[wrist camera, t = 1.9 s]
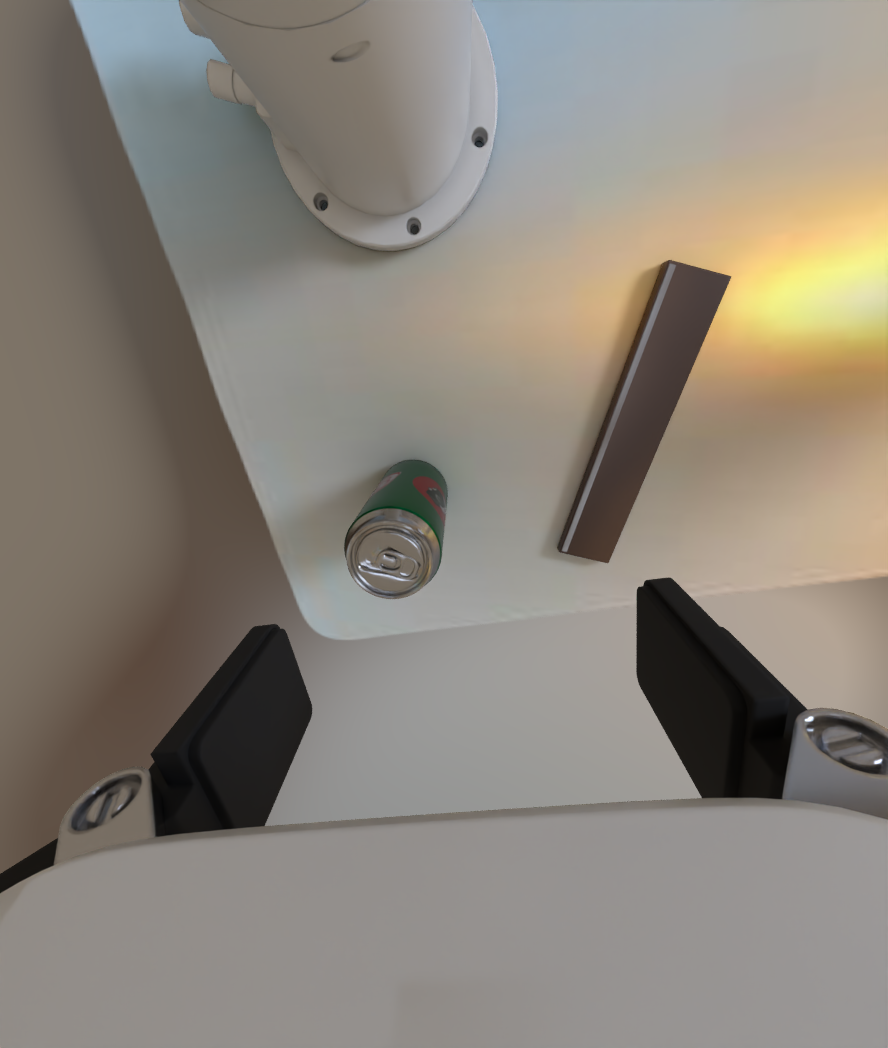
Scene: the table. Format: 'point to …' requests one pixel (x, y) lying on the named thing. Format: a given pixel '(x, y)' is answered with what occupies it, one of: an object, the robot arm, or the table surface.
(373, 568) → the soda can
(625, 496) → the ruler
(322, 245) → the table surface
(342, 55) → the robot arm
